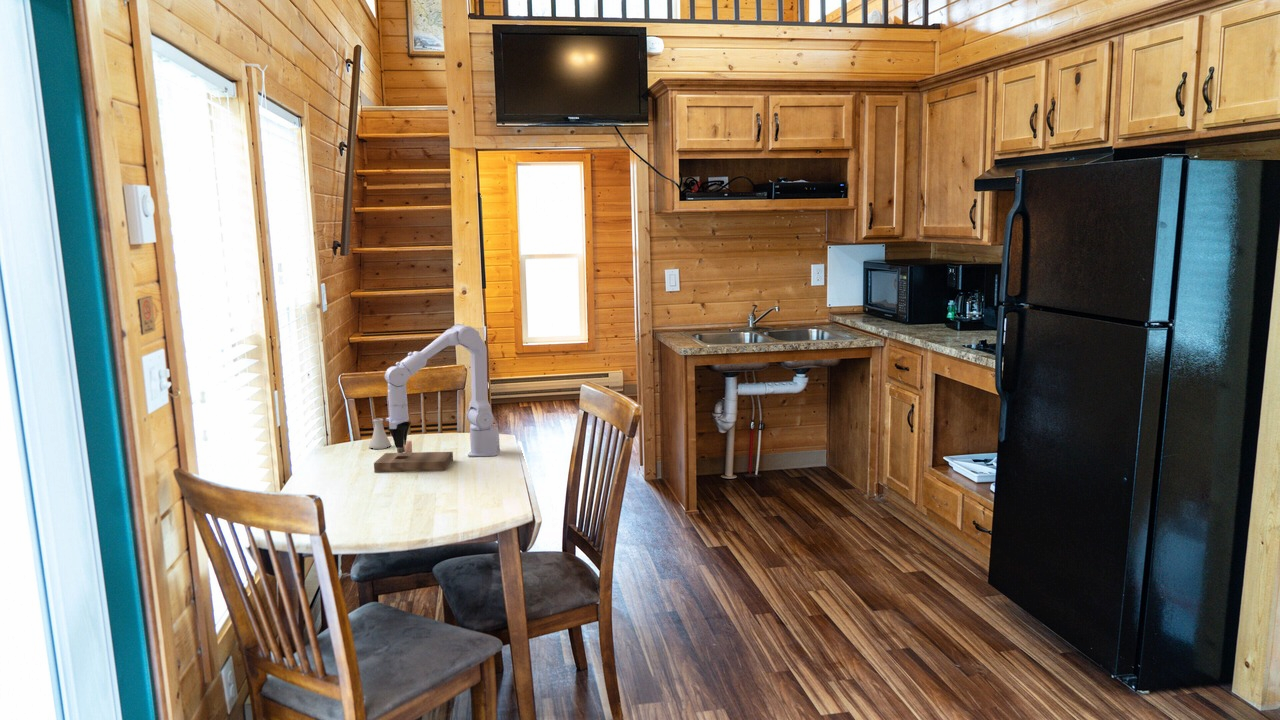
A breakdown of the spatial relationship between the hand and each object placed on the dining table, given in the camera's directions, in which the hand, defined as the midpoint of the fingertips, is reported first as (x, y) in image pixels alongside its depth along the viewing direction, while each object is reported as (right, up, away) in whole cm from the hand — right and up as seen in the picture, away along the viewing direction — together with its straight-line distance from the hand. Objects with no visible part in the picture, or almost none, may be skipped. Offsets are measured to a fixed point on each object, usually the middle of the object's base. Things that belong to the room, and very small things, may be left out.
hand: (400, 446), depth 266 cm
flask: (-15, -3, +27) cm, 31 cm away
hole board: (+4, -7, +1) cm, 8 cm away
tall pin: (0, -2, 0) cm, 2 cm away
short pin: (-2, -5, +16) cm, 17 cm away
